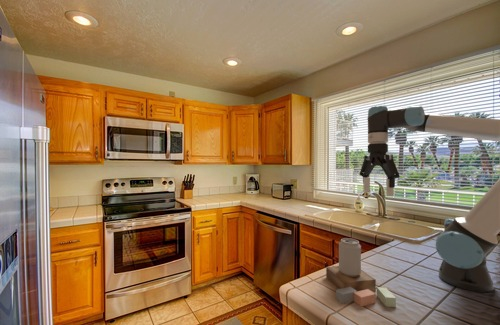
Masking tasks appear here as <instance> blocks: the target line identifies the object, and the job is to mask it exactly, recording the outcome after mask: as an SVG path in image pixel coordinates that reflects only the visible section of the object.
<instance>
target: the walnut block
mask: <svg viewBox="0 0 500 325" xmlns="http://www.w3.org/2000/svg"><path fill="white" fill-rule="evenodd" d="M325 270H326V273H325V275H326V276H325V277H326V279H328V281H330V283H332V284H333V286H335V287H336V288H337V289H342V288H347V287H352V288H353V289H355V290H356V291H357V292H358V291H362V290H366V289H369V290H370V291H372V292H377V286H376V285H377V284H376V282H377V280H376V279H375V277H373V276H372V275H370V274H368V273H367V272H366V271H364V270H362V269H361V274H360V275H358V276H356V277H350V276H346V275H344V274H342V273H341V271H340V270H339V265H335V266H334V265H333V266H326V267H325Z"/></svg>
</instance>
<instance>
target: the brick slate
mask: <svg viewBox="0 0 500 325" xmlns="http://www.w3.org/2000/svg"><path fill="white" fill-rule="evenodd" d="M354 292H357V291H356V290H355V289H353V288H352V287H347V288H342V289H338V288H337V289H335V299H336V300H337V301H338V302H340V303H341V304H347V303H350V302H351V303H352V302H354Z"/></svg>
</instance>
